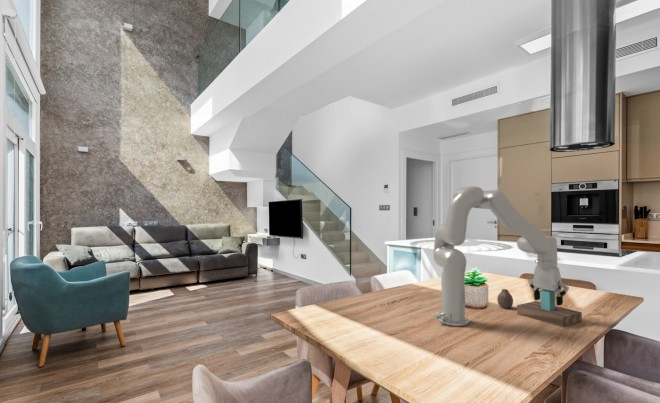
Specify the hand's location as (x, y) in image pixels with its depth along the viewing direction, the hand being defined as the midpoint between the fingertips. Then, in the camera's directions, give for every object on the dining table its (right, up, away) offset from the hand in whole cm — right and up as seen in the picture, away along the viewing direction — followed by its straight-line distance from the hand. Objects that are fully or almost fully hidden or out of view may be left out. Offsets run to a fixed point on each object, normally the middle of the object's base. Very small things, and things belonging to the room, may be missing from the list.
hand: (548, 302), depth 153 cm
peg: (0, -7, 0) cm, 7 cm away
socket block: (0, -7, 0) cm, 7 cm away
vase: (-11, -7, +16) cm, 20 cm away
